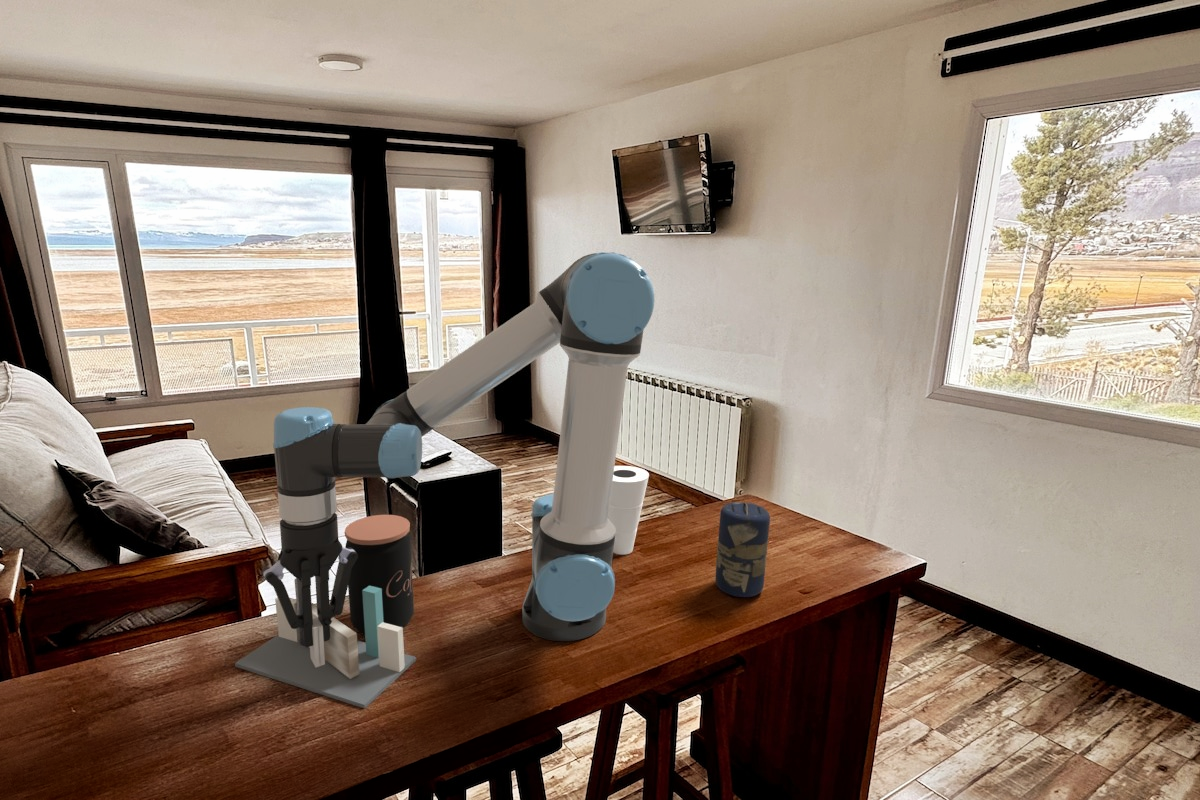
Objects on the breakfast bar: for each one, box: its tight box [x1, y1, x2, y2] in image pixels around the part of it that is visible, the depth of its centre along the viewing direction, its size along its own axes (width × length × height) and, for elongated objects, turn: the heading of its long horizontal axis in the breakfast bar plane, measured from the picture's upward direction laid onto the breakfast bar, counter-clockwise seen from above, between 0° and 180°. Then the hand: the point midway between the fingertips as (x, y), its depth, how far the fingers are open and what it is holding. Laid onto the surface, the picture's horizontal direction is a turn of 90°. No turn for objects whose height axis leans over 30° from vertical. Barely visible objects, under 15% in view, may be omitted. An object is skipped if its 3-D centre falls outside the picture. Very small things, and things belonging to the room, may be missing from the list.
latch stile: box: [362, 586, 383, 658], centre depth 101 cm, size 2×2×12 cm
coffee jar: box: [344, 514, 415, 636], centre depth 110 cm, size 11×11×18 cm
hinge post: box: [294, 578, 305, 646], centre depth 104 cm, size 2×2×12 cm
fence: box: [274, 596, 405, 672], centre depth 102 cm, size 24×1×7 cm, turn 70°
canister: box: [714, 501, 771, 598], centre depth 125 cm, size 10×10×18 cm
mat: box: [234, 633, 417, 709], centre depth 100 cm, size 25×12×1 cm, turn 70°
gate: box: [309, 602, 359, 679], centre depth 99 cm, size 13×2×7 cm, turn 52°
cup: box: [608, 465, 650, 556], centre depth 140 cm, size 11×11×18 cm
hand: (317, 661), depth 96 cm, fingers closed
